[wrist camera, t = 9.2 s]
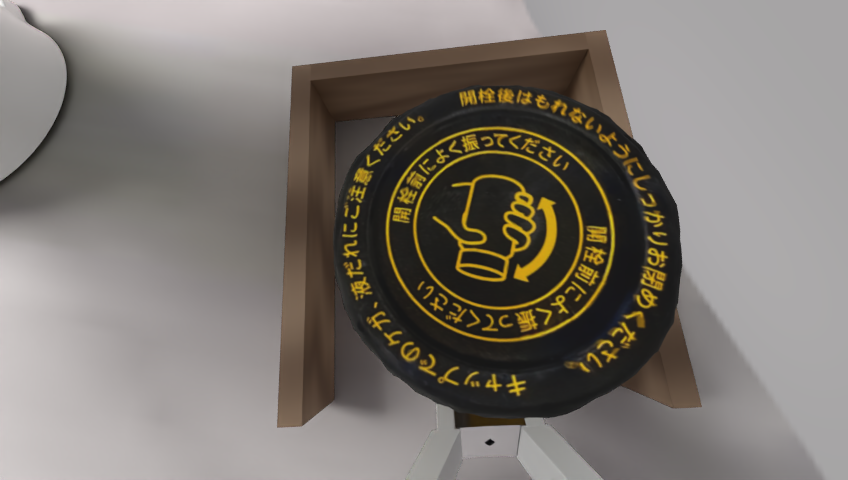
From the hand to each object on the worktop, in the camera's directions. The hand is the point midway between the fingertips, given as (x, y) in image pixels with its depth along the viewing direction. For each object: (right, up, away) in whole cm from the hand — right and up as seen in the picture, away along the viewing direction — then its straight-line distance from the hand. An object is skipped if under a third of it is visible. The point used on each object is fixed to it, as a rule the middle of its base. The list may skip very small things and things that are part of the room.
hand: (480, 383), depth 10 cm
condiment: (+1, +2, +6) cm, 7 cm away
